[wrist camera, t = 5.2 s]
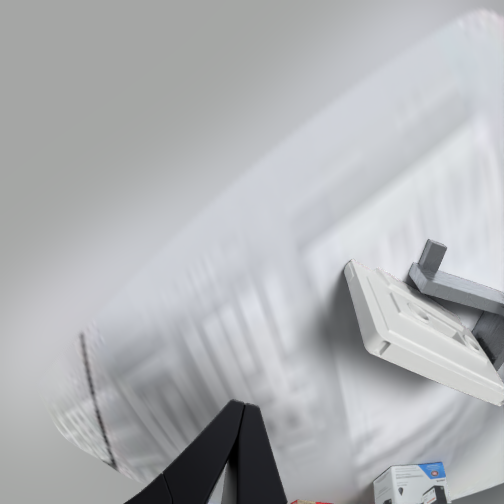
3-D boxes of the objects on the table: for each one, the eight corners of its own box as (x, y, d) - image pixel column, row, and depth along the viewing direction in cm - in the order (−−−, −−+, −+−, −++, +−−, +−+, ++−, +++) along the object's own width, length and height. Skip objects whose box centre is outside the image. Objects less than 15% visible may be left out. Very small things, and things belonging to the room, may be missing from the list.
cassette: (473, 323, 17) (517, 391, 10) (458, 342, 18) (496, 413, 11) (354, 249, 17) (385, 325, 10) (337, 275, 18) (355, 359, 11)
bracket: (511, 271, 15) (541, 297, 12) (460, 364, 19) (477, 397, 15) (423, 237, 16) (451, 263, 12) (371, 349, 19) (381, 389, 15)
